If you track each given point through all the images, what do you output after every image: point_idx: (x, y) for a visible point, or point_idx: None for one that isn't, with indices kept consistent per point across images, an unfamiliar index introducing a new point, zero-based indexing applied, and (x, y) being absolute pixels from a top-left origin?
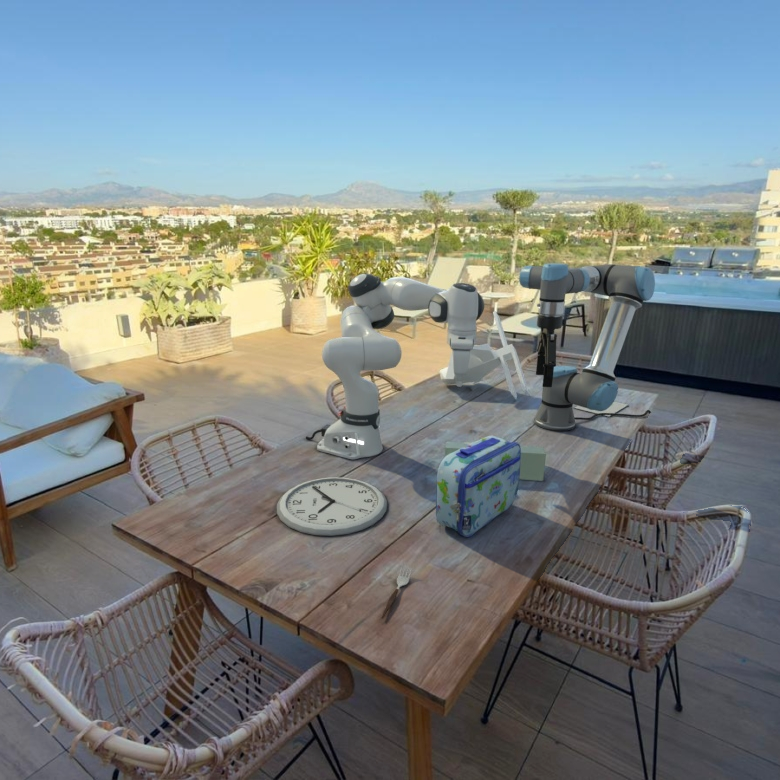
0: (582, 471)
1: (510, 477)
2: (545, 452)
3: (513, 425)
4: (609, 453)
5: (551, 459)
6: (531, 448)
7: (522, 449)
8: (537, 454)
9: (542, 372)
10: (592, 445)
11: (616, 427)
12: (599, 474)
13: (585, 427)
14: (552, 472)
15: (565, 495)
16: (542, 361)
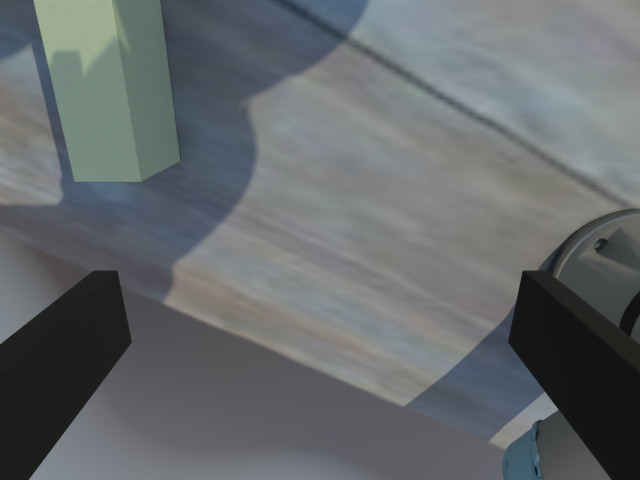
0: (231, 286)
1: None
2: (87, 181)
3: (622, 119)
4: (371, 379)
5: (301, 214)
6: (110, 128)
7: (85, 85)
8: (68, 146)
9: (525, 340)
10: (426, 350)
11: None
12: (222, 324)
13: None
14: (201, 200)
15: (56, 211)
16: (612, 429)
